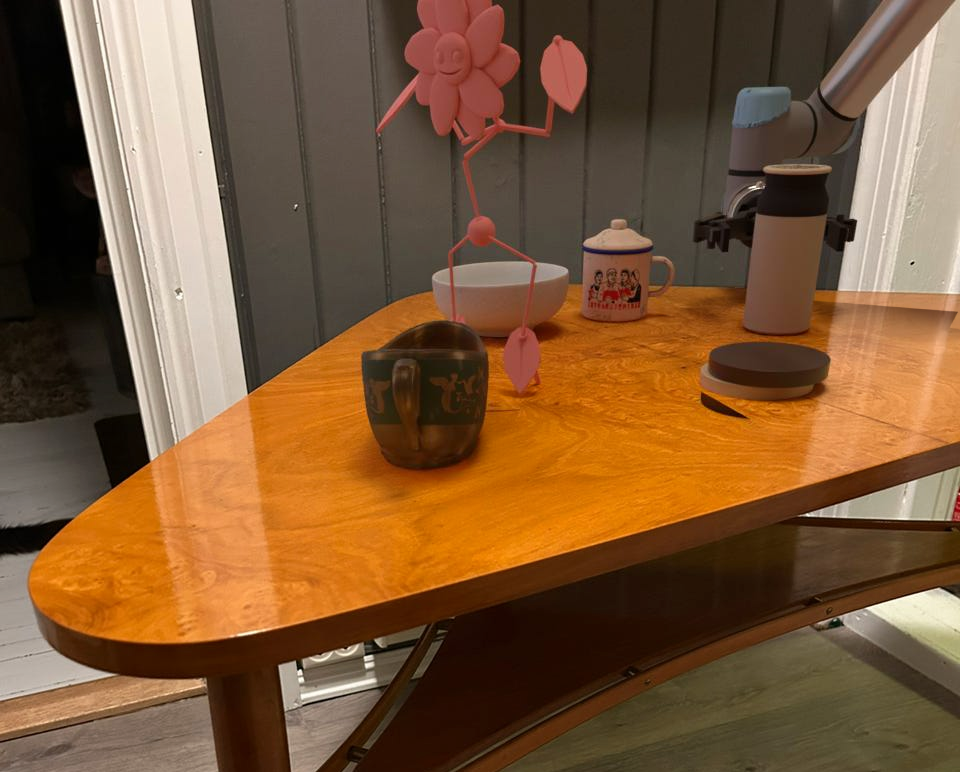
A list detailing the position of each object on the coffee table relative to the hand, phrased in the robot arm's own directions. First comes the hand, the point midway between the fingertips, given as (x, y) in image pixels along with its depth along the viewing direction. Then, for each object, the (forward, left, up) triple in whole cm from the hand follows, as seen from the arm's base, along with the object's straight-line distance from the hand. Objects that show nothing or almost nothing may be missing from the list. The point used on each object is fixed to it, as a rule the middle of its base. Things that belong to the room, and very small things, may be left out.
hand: (783, 240), depth 113 cm
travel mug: (+1, +2, -10) cm, 10 cm away
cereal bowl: (+33, -10, -10) cm, 36 cm away
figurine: (+45, +14, -10) cm, 48 cm away
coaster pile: (+19, +28, -10) cm, 35 cm away
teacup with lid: (+15, -12, -10) cm, 21 cm away
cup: (+52, +29, -10) cm, 61 cm away
